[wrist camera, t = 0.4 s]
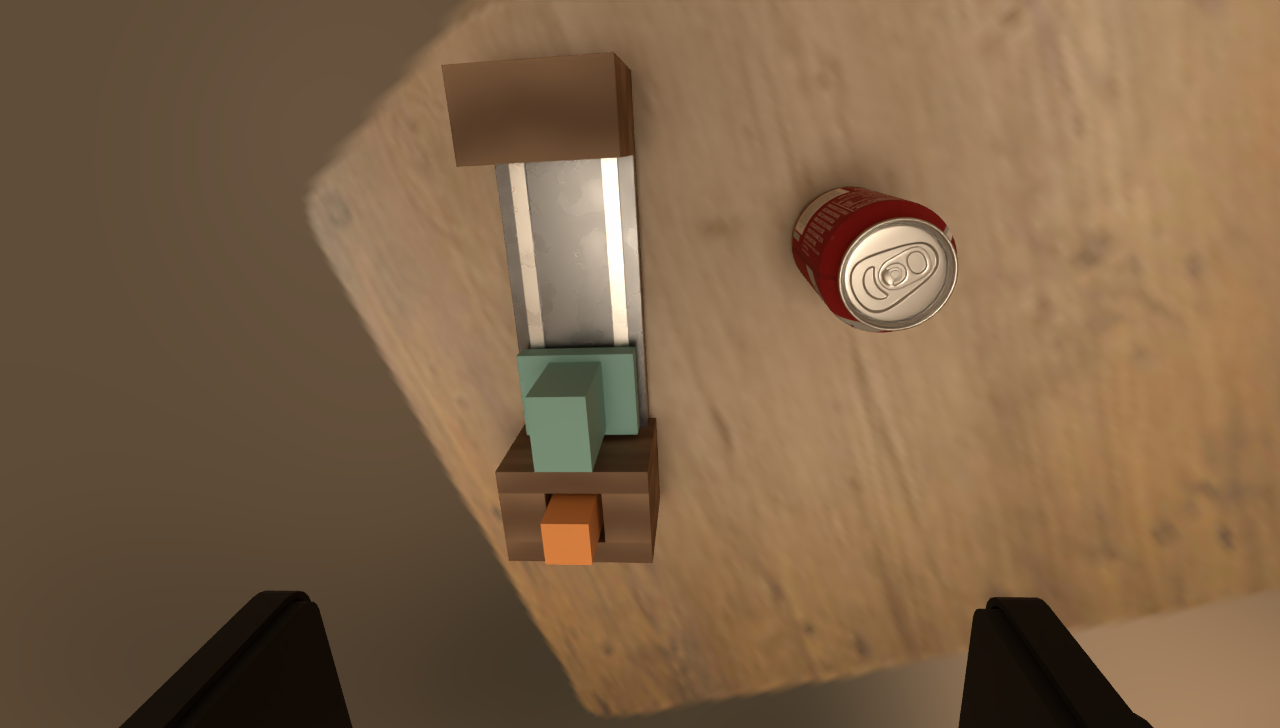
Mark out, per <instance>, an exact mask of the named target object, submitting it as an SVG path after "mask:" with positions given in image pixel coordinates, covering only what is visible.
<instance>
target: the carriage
mask: <svg viewBox="0 0 1280 728" xmlns="http://www.w3.org/2000/svg"><path fill="white" fill-rule="evenodd" d="M517 364H518V371H519V379H520V386H521V394H522V402H523V409H524V417H525V424H526V432H527V435H530V440H531V448H532V456H533V463H534V471H535V472H592V471H593V468H594V465H595V462H596V459H597V456H598V453H599V450H600V447H601V443H602V440H603V437H604V435H638V432H639V427H640V419H639V403H638V386H637V369H636V352H635V347H602V348H557V349H522V351H521V352H520V353H519V354H518V355H517Z"/></svg>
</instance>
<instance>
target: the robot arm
mask: <svg viewBox="0 0 1280 728" xmlns="http://www.w3.org/2000/svg"><path fill="white" fill-rule="evenodd" d="M119 728H352V724H351V721H350V718H349V714H348V710H347V707H346V703H345V699H344V696H343V692H342V689H341V685H340V682H339V678H338V675H337V671H336V667H335V664H334V660H333V657H332V654H331V649H330V646H329V642H328V639H327V635H326V632H325V628H324V625H323V621H322V618H321V614H320V610H319V608H318V606H317V604H316V603H315V602H311V600H310V598H309V596H308V595H307V594H306V593H305V592H301V591H263V592H260V593H258V594H257V595H256V596H254V597H253V598H252V599H251V600H250V601H249V602H248V603H247V604H246V605H245V606H244V607H243V608H242V609H241V610H239V611H238V612H237V613H236V614H235V615H234V616H233V617H232V618H231V619H230V620H229V621H228V622H227V623H226V624H225V625H224V626H223V627H222V628H221V629H220V630H219V631H218V632H217V633H216V634H215V635H214V636H213V637H212V638H211V639H210V640H209V641H208V642H207V643H206V644H205V645H204V646H202V647H201V648H200V650H199V651H197V652H196V653H195V654H194V655H193V656H192V657H191V658H190V659H189V660H188V661H187V662H186V663H185V664H184V665H183V666H182V667H181V668H180V669H179V670H178V671H177V672H176V673H175V674H174V675H173V676H172V677H171V678H170V679H169V680H168V681H167V682H165V683H164V685H162V686H161V687H160V688H159V689H158V690H157V691H156V692H155V693H154V694H153V695H152V696H151V697H150V698H149V699H148V700H147V701H146V702H145V703H144V704H143V705H142V706H141V707H140V708H139V709H138V710H137V711H136V712H135V713H134V714H133V715H132V716H131V717H130V718H128V719H127V720H126V722H124V723H123V724H122V725H121V726H120V727H119ZM959 728H1153V727H1152V726H1151V725H1150V724H1149V723H1148V722H1147V721H1146V720H1145V719H1143V718H1142V717H1140V716H1138V715H1137V714H1135V713H1133V712H1132V711H1131V709H1130V708H1129V707H1128V706H1127V704H1126V703H1125V702H1124V701H1123V699H1122V698H1121V697H1120V695H1119V694H1118V693H1117V692H1116V691H1115V689H1114V688H1113V687H1112V685H1111V684H1110V683H1109V682H1108V680H1107V679H1106V678H1105V676H1104V675H1103V674H1102V673H1101V672H1100V670H1099V669H1098V668H1097V666H1096V665H1095V664H1094V663H1093V661H1092V660H1091V659H1090V658H1089V656H1088V655H1087V654H1086V652H1085V651H1084V650H1083V649H1082V648H1081V646H1080V645H1079V644H1078V642H1077V641H1076V640H1075V639H1074V637H1073V636H1072V635H1071V634H1070V632H1069V631H1068V630H1067V629H1066V627H1065V626H1064V625H1063V623H1062V622H1061V621H1060V620H1059V618H1058V617H1057V616H1056V615H1055V613H1054V612H1053V611H1052V610H1051V608H1050V607H1049V606H1048V605H1047V604H1046V603H1045V602H1044V601H1043V600H1041V599H1039V598H1024V597H993V598H990V599H989V601H988V602H987V605H986V609H976V611H975V612H974V616H973V622H972V629H971V637H970V644H969V652H968V660H967V667H966V675H965V683H964V690H963V698H962V706H961V713H960V721H959Z"/></svg>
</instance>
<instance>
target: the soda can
mask: <svg viewBox="0 0 1280 728" xmlns="http://www.w3.org/2000/svg"><path fill="white" fill-rule="evenodd" d="M792 252H793V257H794V260H795V263H796V265H797V267H798V269H799V270H800V272H801V273H802V274H803V276H804V277H805V278H806V279H807V281H808V282H809V283H810V285H811V286H812V287H813V288H814V290H815V291H816V292H817V293H818V295H819V296H820V297H821V299H822V300H823V301H824V302H825V304H826V305H827V306H828V307H829V309H830V310H831V311H832V312H833V313H834V314H835V315H836V316H837V317H838V318H839V319H840V320H842V321H843V322H845V323H846V324H848V325H850V326H852V327H854V328H857V329H860V330H863V331H868V332H892V331H899V330H905V329H909V328H912V327H915V326H917V325H920V324H922V323H923V322H925V321H927V320H928V319H930V318H931V317H933V316H934V315H935V314H936V313H937V312H938V311H939V310H940V309H941V308H942V307H943V306H944V305H945V303H946V302H947V301H948V299H949V298H950V296H951V294H952V292H953V290H954V287H955V284H956V281H957V276H958V259H957V250H956V245H955V241H954V238H953V236H952V233H951V232H950V230H949V228H948V226H947V225H946V224H945V222H944V221H943V220H942V219H941V218H940V217H939V216H938V215H937V214H936V213H934V212H933V211H932V210H930V209H928V208H926V207H925V206H922V205H920V204H917V203H914V202H911V201H907V200H904V199H900V198H896V197H893V196H889V195H886V194H882V193H878V192H875V191H871V190H868V189H864V188H859V187H842V188H837V189H834V190H831V191H828V192H826V193H824V194H822V195H820V196H819V197H817V198H816V199H815V200H813V201H812V202H811V203H810V204H809V205H808V206H807V207H806V208H805V209H804V211H803V212H802V214H801V215H800V217H799V219H798V221H797V223H796V225H795V228H794V231H793V236H792Z"/></svg>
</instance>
